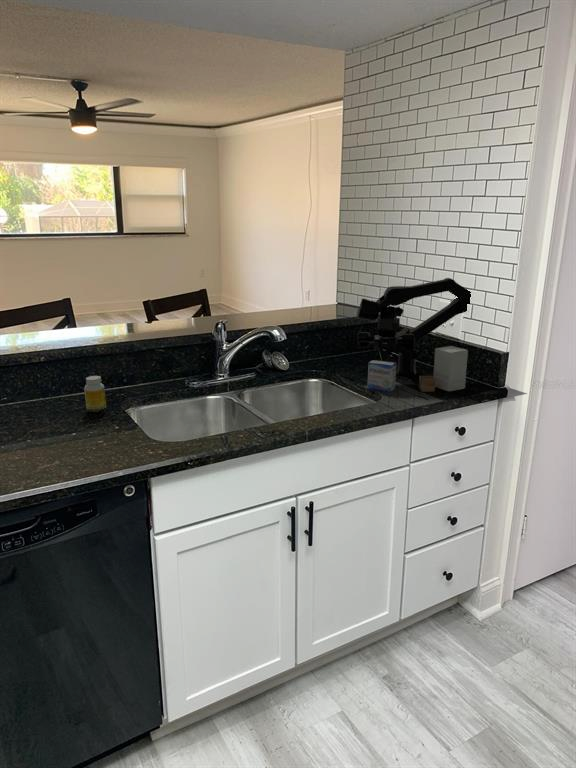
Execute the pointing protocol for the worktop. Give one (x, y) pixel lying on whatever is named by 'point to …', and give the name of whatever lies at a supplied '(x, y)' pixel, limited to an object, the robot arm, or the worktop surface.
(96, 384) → the supplement bottle
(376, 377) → the medicine box
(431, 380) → the walnut block
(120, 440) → the worktop surface
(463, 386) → the supplement box
